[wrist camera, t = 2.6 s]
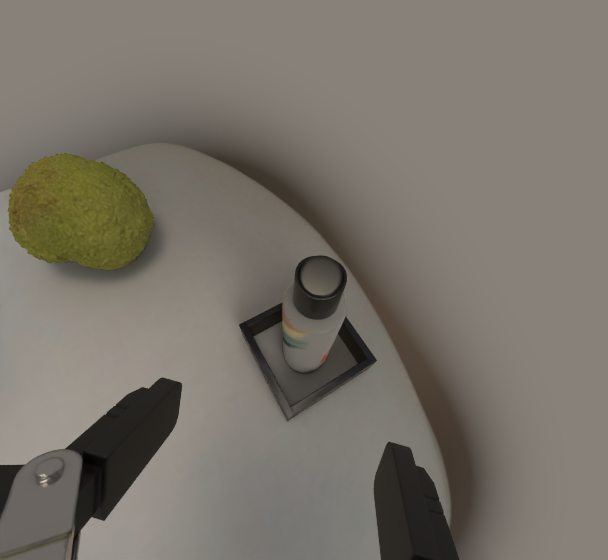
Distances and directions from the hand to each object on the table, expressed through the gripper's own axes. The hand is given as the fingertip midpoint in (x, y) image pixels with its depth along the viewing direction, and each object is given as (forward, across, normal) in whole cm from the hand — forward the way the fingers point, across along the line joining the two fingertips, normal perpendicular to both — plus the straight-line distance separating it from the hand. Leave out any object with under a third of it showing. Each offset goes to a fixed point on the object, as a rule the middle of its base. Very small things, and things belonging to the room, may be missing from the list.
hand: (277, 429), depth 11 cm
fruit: (+32, +32, +5) cm, 46 cm away
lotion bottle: (+26, 0, +11) cm, 28 cm away
